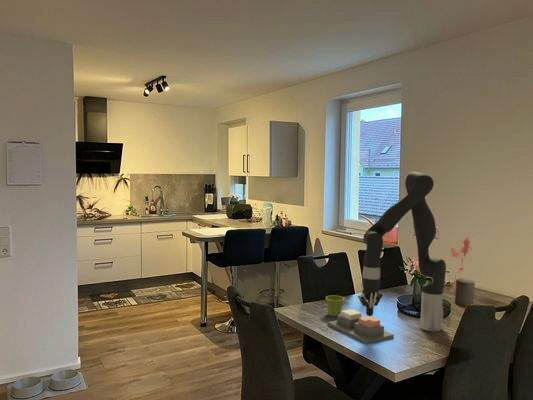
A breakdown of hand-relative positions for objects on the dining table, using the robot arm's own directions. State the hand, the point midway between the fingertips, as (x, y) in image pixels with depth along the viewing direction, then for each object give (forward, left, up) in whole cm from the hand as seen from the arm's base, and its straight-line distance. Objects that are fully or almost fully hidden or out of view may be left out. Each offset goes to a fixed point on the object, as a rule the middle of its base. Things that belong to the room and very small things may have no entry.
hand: (369, 315), depth 196 cm
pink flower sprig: (-106, -29, -9) cm, 110 cm away
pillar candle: (-84, -13, -9) cm, 86 cm away
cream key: (0, -12, -5) cm, 13 cm away
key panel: (0, -6, -9) cm, 11 cm away
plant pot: (-5, -30, -9) cm, 32 cm away
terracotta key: (0, 0, -5) cm, 5 cm away
